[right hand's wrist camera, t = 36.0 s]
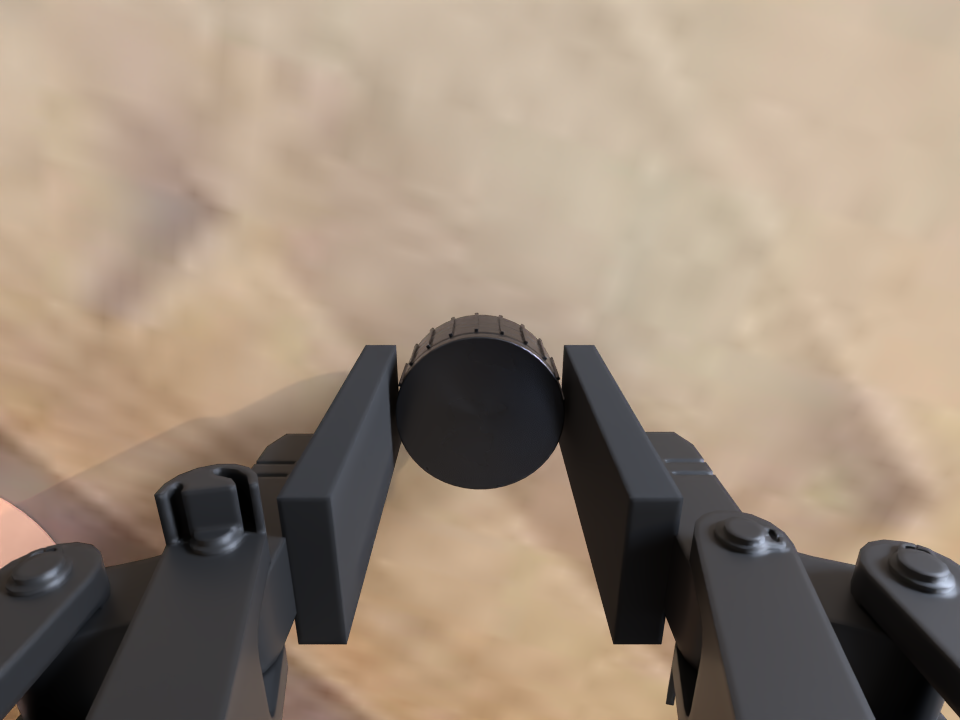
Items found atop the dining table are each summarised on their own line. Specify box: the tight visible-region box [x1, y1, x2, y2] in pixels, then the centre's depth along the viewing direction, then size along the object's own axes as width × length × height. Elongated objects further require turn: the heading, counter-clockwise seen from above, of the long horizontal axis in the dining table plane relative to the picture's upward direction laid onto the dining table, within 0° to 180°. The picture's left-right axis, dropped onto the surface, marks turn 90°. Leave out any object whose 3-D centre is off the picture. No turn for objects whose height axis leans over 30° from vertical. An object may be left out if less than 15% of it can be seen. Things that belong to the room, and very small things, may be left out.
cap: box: [395, 313, 565, 489], centre depth 14 cm, size 4×4×2 cm
